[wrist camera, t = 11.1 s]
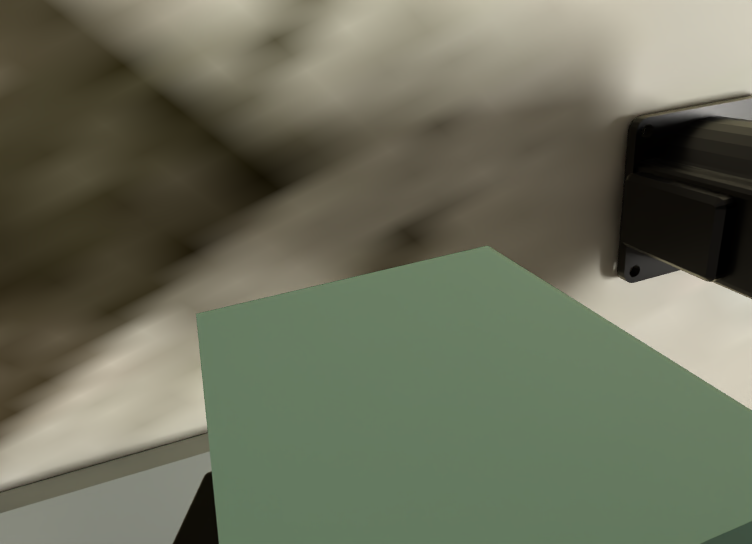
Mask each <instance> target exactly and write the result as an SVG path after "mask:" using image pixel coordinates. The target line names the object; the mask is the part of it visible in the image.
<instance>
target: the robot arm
mask: <svg viewBox="0 0 752 544" xmlns="http://www.w3.org/2000/svg"><path fill="white" fill-rule="evenodd" d="M644 126H645V131H644V133H643V135H642V130H643V128H644ZM632 267H633V268H632ZM631 268H632V270H631V271H630V269H631ZM678 270H682V271H685V272H687V273H689V274H691V275H694V276H696V277H698V278H700V279H703V280H705V281H709V282H714V283H716V284H719V285H721V286H723V287H726V288H728V289H730V290H732V291H735V292H737V293H739V294H742V295H744V296H746V297H748V298H751V299H752V96H747V97H742V98H736V99H731V100H725V101H720V102H714V103H709V104H703V105H698V106H692V107H687V108H681V109H675V110H670V111H664V112H659V113H653V114H648V115H642V116H639V117H637V118H635V119H634V120H633V121H632V123H631V124H630V126H629V130H628V139H627V152H626V165H625V178H624V190H623V203H622V216H621V229H620V242H619V254H618V267H617V273H618V276H619V277H620V278H621V279H623V280H625V281H627V282H629V283H634V282H638V281H641V280H645V279H649V278H652V277H656V276H660V275H663V274H667V273H671V272H674V271H678ZM173 544H219V539H218V529H217V519H216V509H215V499H214V489H213V479H212V471H210V472H208V473H206V474H205V475H204V477H203V479H202V481H201V483H200V486H199V488H198V490H197V492H196V494H195V496H194V498H193V501H192V503H191V505H190V507H189V509H188V511H187V514H186V516H185V518H184V520H183V522H182V524H181V526H180V529H179V531H178V533H177V535H176V537H175V539H174V542H173Z"/></svg>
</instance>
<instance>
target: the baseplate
mask: <svg viewBox="0 0 752 544" xmlns="http://www.w3.org/2000/svg"><path fill="white" fill-rule="evenodd" d="M210 471H212V469H211V459H210V449H209V439H208V433H206V434H203V435H199V436H196V437H192V438H189V439H185V440H182V441H179V442H175V443H172V444H168V445H165V446H161V447H158V448H154V449H151V450H147V451H144V452H140V453H137V454H133V455H130V456H126V457H123V458H119V459H116V460H112V461H109V462H105V463H102V464H98V465H95V466H92V467H88V468H85V469H81V470H78V471H74V472H71V473H67V474H64V475H60V476H57V477H53V478H50V479H46V480H43V481H39V482H36V483H32V484H29V485H25V486H22V487H18V488H15V489H11V490H8V491H5V492H1V493H0V544H173V542H174V539H175V537H176V535H177V533H178V531H179V529H180V526H181V524H182V522H183V520H184V518H185V516H186V514H187V511H188V509H189V507H190V505H191V503H192V501H193V498H194V496H195V494H196V492H197V490H198V488H199V486H200V483H201V481H202V479H203V477H204V475H205V474H206V473H208V472H210Z"/></svg>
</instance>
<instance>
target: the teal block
mask: <svg viewBox="0 0 752 544" xmlns="http://www.w3.org/2000/svg"><path fill="white" fill-rule="evenodd" d="M196 318H197V328H198V338H199V348H200V358H201V368H202V378H203V389H204V399H205V409H206V419H207V429H208V439H209V449H210V459H211V469H212V479H213V489H214V499H215V509H216V519H217V529H218V539H219V544H752V410H750V409H749V408H747V407H745V406H744V405H742V404H741V403H739V402H737V401H736V400H734V399H733V398H731V397H729V396H728V395H726V394H725V393H723V392H721V391H720V390H718V389H717V388H715V387H713V386H712V385H710V384H709V383H707V382H705V381H704V380H702V379H701V378H699V377H697V376H696V375H694V374H693V373H691V372H689V371H688V370H686V369H685V368H683V367H681V366H680V365H678V364H677V363H675V362H673V361H672V360H670V359H669V358H667V357H665V356H664V355H662V354H661V353H659V352H657V351H656V350H654V349H653V348H651V347H649V346H648V345H646V344H645V343H643V342H641V341H640V340H638V339H637V338H635V337H633V336H632V335H630V334H629V333H627V332H625V331H624V330H622V329H621V328H619V327H617V326H616V325H614V324H613V323H611V322H609V321H608V320H606V319H605V318H603V317H601V316H600V315H598V314H597V313H595V312H593V311H592V310H590V309H589V308H587V307H585V306H584V305H582V304H581V303H579V302H577V301H576V300H574V299H573V298H571V297H569V296H568V295H566V294H565V293H563V292H561V291H560V290H558V289H557V288H555V287H553V286H552V285H550V284H549V283H547V282H545V281H544V280H542V279H541V278H539V277H537V276H536V275H534V274H533V273H531V272H529V271H528V270H526V269H525V268H523V267H521V266H520V265H518V264H517V263H515V262H513V261H512V260H510V259H509V258H507V257H505V256H504V255H502V254H501V253H499V252H497V251H496V250H494V249H493V248H491V247H489V246H484V247H479V248H475V249H471V250H467V251H462V252H458V253H454V254H449V255H445V256H441V257H437V258H432V259H428V260H424V261H420V262H415V263H411V264H407V265H403V266H398V267H394V268H390V269H386V270H381V271H377V272H373V273H369V274H364V275H360V276H356V277H351V278H347V279H343V280H339V281H334V282H330V283H326V284H322V285H317V286H313V287H309V288H305V289H300V290H296V291H292V292H288V293H283V294H279V295H275V296H271V297H266V298H262V299H258V300H254V301H249V302H245V303H241V304H236V305H232V306H228V307H224V308H219V309H215V310H211V311H207V312H202V313H198V314H196Z"/></svg>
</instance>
